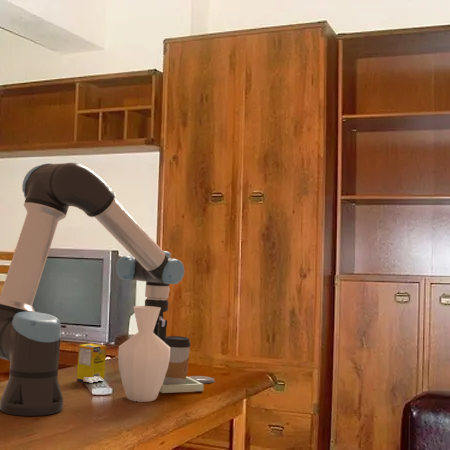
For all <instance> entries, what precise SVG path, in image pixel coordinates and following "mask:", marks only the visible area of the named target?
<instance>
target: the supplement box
mask: <svg viewBox="0 0 450 450" xmlns="http://www.w3.org/2000/svg"><path fill="white" fill-rule="evenodd" d="M77 352H78V353H77V354H78V357H77V373H76V375H77V376H76V381H77V382H80V383H81V382H82V383H84V382H83V378H84V377H94V376H101V377H102V378H103V379H104V380H105V374H106V373H105V372H106V359H107V358H106V357H107V356H106V354H107V345H103V344H98V343H83V344H79V345H78V351H77Z"/></svg>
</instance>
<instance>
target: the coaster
mask: <svg viewBox="0 0 450 450" xmlns="http://www.w3.org/2000/svg"><path fill="white" fill-rule="evenodd" d="M188 377H189V378H192V379H194V380H196V381H198V382H200V383H202V384H204V385H205V384H212V383H215V378H214V377H211V376H204V375H203V376H202V375H192V376H191V375H190V376H188Z"/></svg>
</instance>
